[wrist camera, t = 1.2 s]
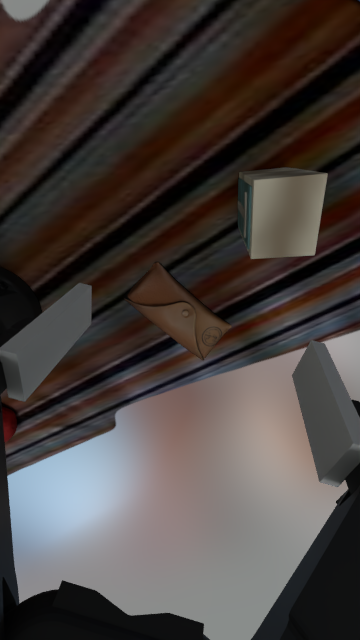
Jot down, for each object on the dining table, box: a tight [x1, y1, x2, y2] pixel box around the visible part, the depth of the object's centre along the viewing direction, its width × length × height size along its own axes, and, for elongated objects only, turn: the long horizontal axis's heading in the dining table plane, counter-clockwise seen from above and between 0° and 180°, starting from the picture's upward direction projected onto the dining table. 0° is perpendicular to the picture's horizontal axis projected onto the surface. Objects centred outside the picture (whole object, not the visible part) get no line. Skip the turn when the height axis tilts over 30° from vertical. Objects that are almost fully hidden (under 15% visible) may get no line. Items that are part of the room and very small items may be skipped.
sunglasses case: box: [124, 262, 232, 360], centre depth 46 cm, size 18×7×7 cm
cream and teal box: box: [238, 167, 328, 259], centre depth 31 cm, size 6×7×14 cm
